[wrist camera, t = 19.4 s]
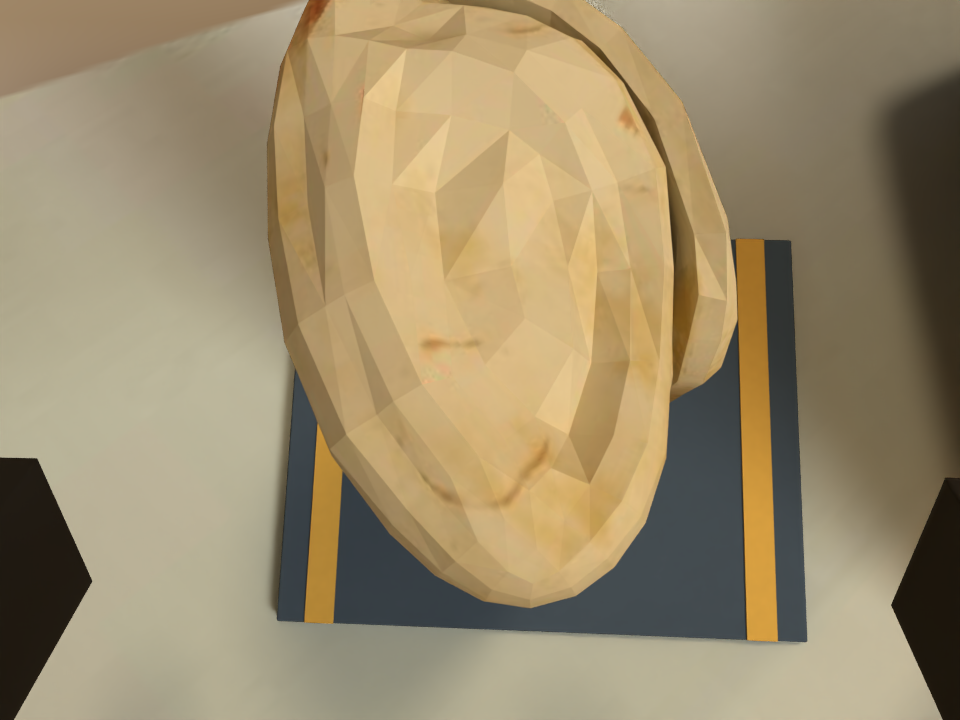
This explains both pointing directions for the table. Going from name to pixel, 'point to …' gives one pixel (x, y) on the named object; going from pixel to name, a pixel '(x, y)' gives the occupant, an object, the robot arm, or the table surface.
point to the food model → (494, 276)
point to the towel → (657, 547)
